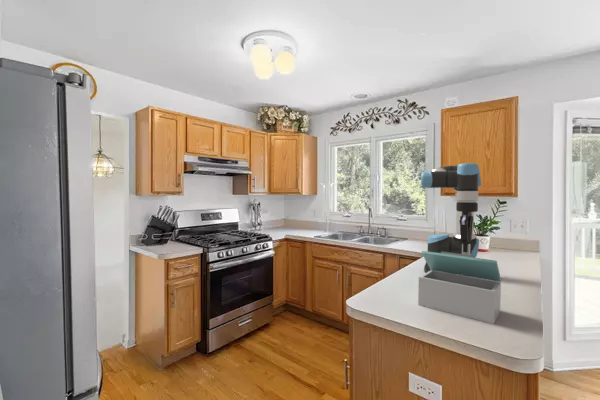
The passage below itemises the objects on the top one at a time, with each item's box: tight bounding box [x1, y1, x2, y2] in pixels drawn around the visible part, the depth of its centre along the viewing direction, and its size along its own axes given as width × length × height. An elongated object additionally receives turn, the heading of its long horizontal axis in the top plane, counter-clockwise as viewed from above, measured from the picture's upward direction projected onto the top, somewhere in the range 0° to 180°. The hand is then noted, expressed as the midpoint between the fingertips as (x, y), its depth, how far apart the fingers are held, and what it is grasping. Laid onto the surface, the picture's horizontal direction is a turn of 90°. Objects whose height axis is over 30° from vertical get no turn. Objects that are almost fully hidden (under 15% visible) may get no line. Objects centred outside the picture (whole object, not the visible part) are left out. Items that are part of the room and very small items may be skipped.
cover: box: [421, 250, 502, 283], centre depth 122 cm, size 16×27×2 cm
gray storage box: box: [417, 270, 502, 325], centre depth 121 cm, size 16×27×12 cm, turn 49°
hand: (465, 259), depth 118 cm, fingers closed
